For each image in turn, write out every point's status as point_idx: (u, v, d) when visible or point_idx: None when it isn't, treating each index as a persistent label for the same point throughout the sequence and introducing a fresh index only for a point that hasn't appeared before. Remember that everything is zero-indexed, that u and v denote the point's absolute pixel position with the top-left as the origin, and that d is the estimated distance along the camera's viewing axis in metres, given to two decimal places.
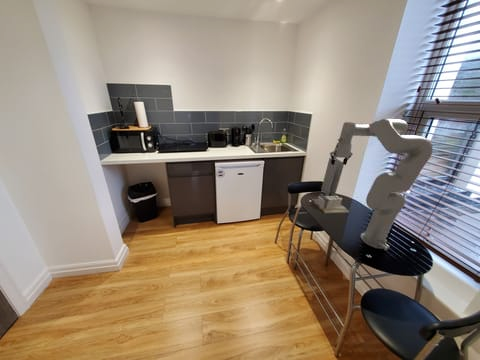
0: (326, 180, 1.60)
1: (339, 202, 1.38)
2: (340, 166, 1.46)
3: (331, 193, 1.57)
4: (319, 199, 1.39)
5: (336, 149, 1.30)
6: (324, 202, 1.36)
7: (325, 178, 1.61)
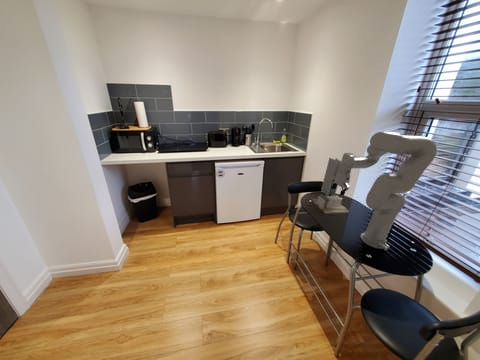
0: (326, 180, 1.60)
1: (339, 202, 1.38)
2: None
3: (331, 193, 1.57)
4: (319, 199, 1.39)
5: (347, 181, 1.29)
6: (324, 202, 1.36)
7: (325, 178, 1.61)
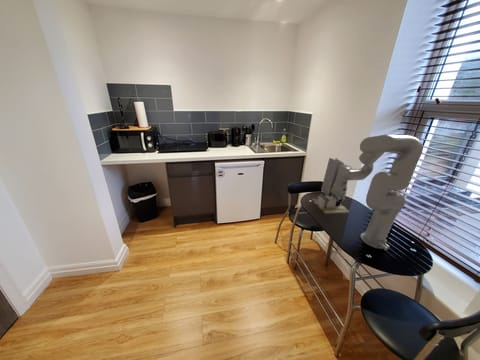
0: (326, 180, 1.60)
1: None
2: None
3: None
4: (319, 199, 1.39)
5: (343, 192, 1.32)
6: (324, 202, 1.36)
7: (325, 178, 1.61)
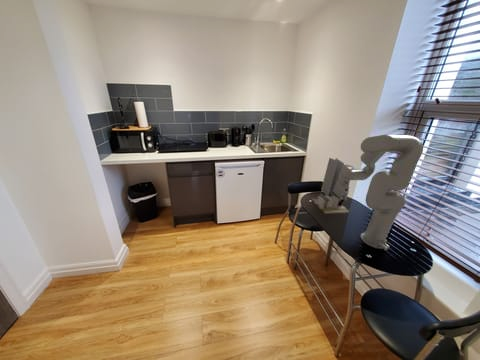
0: (326, 180, 1.60)
1: None
2: (340, 166, 1.46)
3: (331, 193, 1.57)
4: (319, 199, 1.39)
5: (346, 192, 1.33)
6: (324, 202, 1.36)
7: (325, 178, 1.61)
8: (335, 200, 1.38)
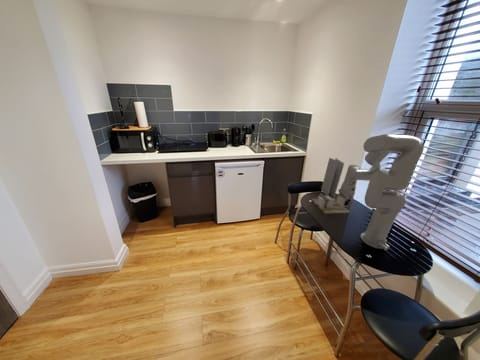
0: (326, 180, 1.60)
1: None
2: (340, 166, 1.46)
3: (331, 193, 1.57)
4: (319, 199, 1.39)
5: (352, 192, 1.33)
6: (324, 202, 1.36)
7: (325, 178, 1.61)
8: (341, 200, 1.39)
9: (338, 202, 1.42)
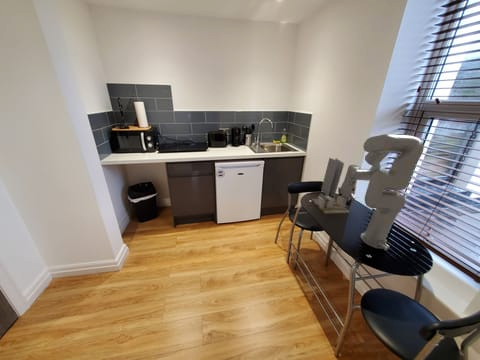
0: (326, 180, 1.60)
1: None
2: (340, 166, 1.46)
3: (331, 193, 1.57)
4: (319, 199, 1.39)
5: (352, 192, 1.33)
6: (324, 202, 1.36)
7: (325, 178, 1.61)
8: (341, 200, 1.39)
9: (338, 202, 1.42)
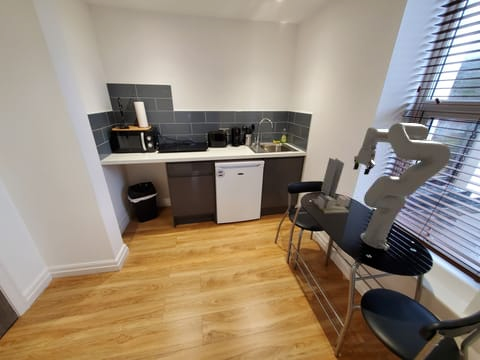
0: (326, 180, 1.60)
1: (347, 202, 1.39)
2: (340, 166, 1.46)
3: (331, 193, 1.57)
4: (319, 199, 1.39)
5: (372, 158, 1.20)
6: (324, 202, 1.36)
7: (325, 178, 1.61)
8: (341, 200, 1.39)
9: (338, 202, 1.42)
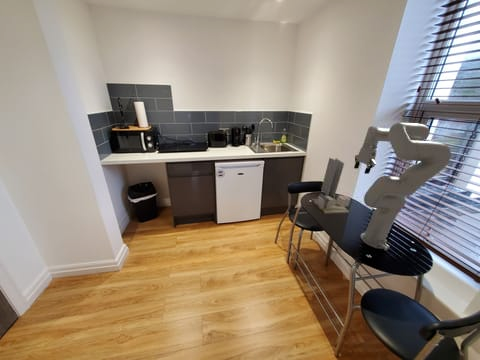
0: (326, 180, 1.60)
1: (347, 202, 1.39)
2: (340, 166, 1.46)
3: (331, 193, 1.57)
4: (319, 199, 1.39)
5: (372, 157, 1.19)
6: (324, 202, 1.36)
7: (325, 178, 1.61)
8: (341, 200, 1.39)
9: (338, 202, 1.42)
